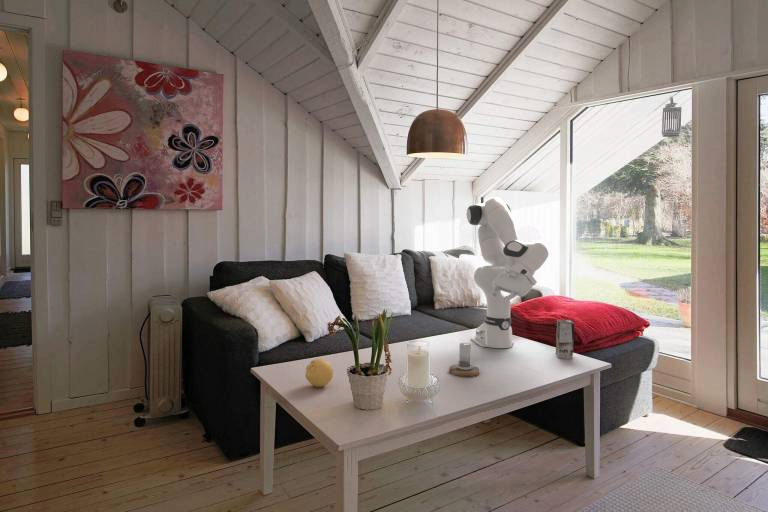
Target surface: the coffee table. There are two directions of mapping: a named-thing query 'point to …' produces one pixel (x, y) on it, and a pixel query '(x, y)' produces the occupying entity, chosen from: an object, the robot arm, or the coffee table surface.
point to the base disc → (456, 372)
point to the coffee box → (565, 338)
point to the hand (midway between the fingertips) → (498, 298)
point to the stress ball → (319, 372)
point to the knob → (464, 357)
